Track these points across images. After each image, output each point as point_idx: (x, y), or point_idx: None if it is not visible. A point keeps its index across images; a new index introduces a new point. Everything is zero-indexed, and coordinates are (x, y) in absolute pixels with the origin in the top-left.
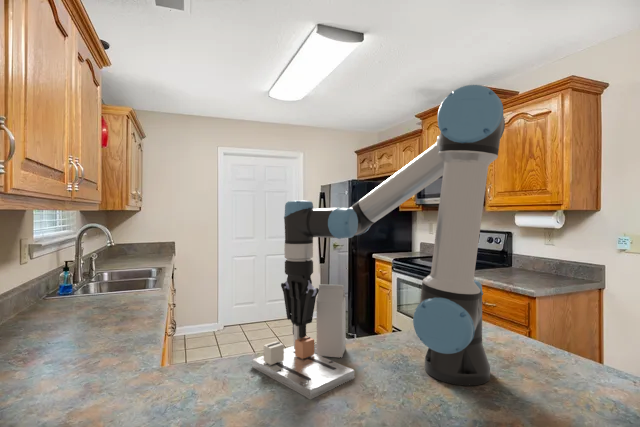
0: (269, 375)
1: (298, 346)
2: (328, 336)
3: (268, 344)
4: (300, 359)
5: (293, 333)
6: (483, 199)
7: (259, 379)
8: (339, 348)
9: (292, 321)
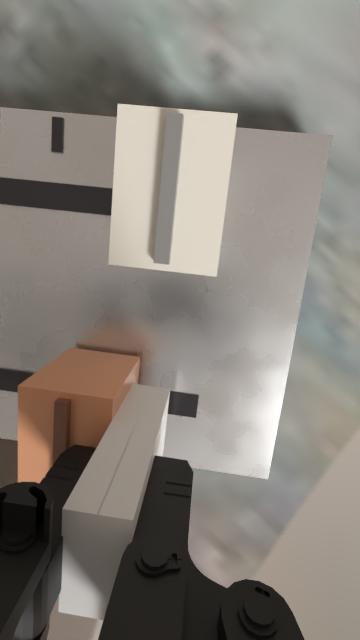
0: None
1: (83, 376)
2: None
3: (214, 163)
4: (87, 343)
5: (181, 467)
6: None
7: (157, 70)
8: None
9: (148, 551)
